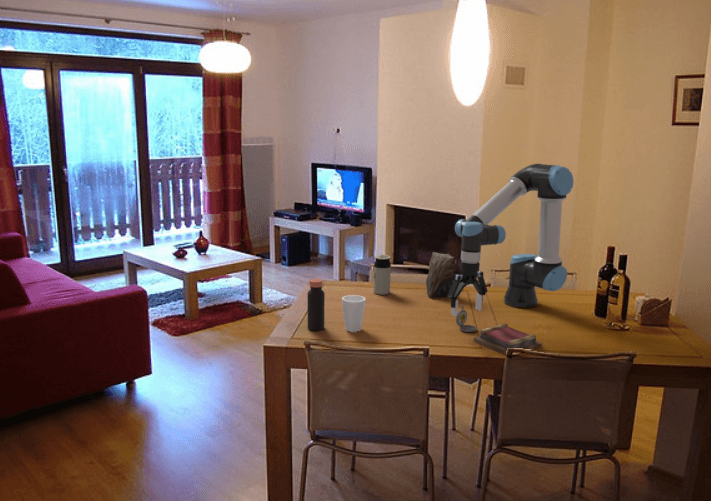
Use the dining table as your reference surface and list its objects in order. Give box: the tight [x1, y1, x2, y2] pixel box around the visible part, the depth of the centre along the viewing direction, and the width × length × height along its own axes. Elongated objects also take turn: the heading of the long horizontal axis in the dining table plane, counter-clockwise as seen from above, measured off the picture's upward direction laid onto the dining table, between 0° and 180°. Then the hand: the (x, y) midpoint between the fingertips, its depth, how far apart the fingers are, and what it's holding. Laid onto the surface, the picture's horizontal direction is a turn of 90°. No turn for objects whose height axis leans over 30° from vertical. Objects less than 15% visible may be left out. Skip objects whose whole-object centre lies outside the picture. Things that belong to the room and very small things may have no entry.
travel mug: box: [372, 254, 392, 296], centre depth 287 cm, size 8×8×18 cm
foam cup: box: [341, 294, 367, 333], centre depth 238 cm, size 10×9×13 cm
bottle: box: [307, 278, 326, 332], centre depth 237 cm, size 7×7×20 cm
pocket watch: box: [455, 303, 477, 333], centre depth 241 cm, size 8×8×10 cm
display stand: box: [472, 323, 543, 356], centre depth 226 cm, size 18×18×5 cm
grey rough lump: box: [425, 251, 456, 300], centre depth 285 cm, size 13×13×20 cm
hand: (466, 312), depth 240 cm, fingers open, 13 cm apart
